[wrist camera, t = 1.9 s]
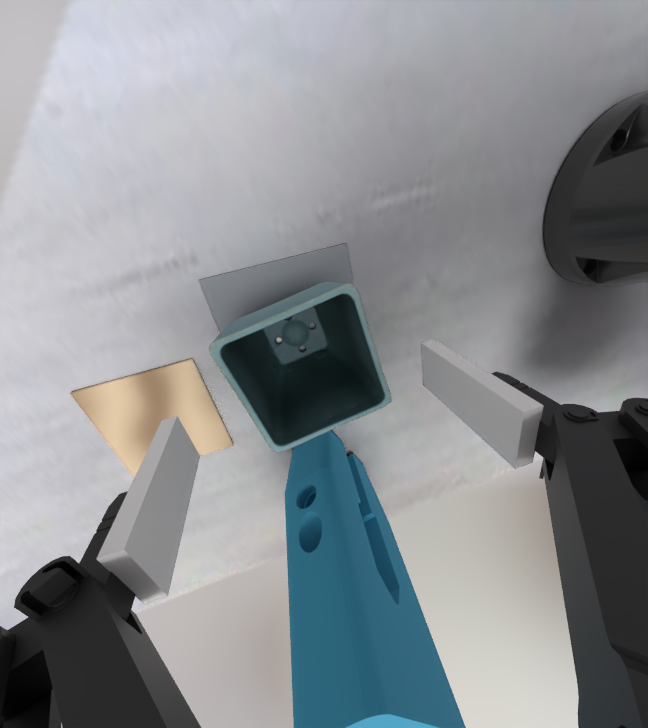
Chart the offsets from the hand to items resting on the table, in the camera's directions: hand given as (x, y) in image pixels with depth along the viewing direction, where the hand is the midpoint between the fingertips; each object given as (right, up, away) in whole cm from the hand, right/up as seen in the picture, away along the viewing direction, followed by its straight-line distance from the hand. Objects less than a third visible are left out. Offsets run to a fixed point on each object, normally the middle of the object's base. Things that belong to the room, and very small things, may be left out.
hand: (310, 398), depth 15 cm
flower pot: (-2, +5, +10) cm, 11 cm away
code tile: (-2, +5, +10) cm, 11 cm away
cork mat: (-14, -3, +11) cm, 19 cm away
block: (+1, -9, +18) cm, 20 cm away
